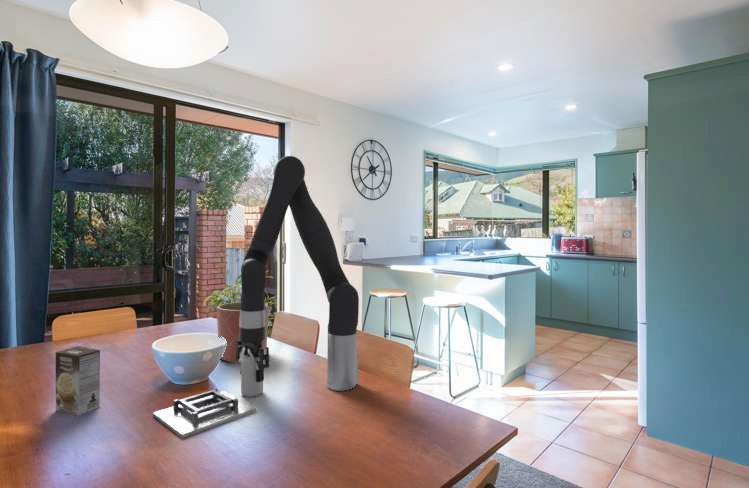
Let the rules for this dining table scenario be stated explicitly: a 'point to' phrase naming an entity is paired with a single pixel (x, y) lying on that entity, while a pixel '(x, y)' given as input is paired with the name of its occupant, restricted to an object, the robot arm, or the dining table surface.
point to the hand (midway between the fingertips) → (251, 377)
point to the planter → (233, 328)
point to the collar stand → (202, 412)
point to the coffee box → (77, 380)
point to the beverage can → (249, 378)
